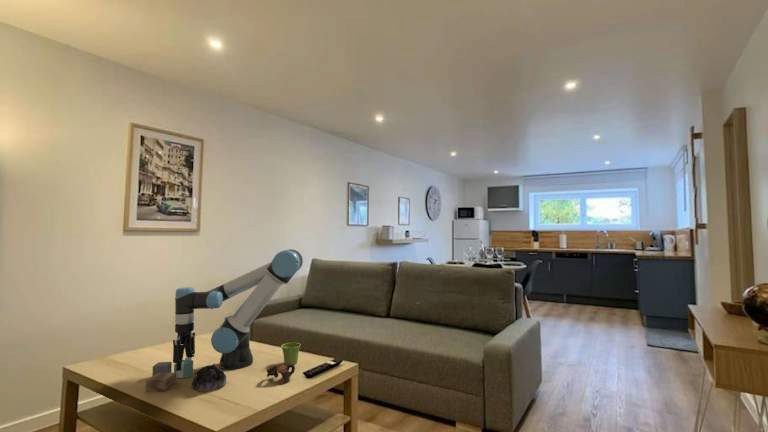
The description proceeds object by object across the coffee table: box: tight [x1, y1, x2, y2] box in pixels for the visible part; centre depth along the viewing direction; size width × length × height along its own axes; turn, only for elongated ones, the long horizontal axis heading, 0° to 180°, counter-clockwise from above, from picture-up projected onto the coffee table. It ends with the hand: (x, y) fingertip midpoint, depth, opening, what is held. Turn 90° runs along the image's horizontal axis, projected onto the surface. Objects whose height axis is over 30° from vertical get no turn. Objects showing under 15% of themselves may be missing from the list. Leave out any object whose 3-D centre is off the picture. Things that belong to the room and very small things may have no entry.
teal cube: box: [173, 359, 194, 379], centre depth 170 cm, size 6×6×6 cm
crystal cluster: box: [191, 363, 227, 393], centre depth 159 cm, size 14×14×10 cm
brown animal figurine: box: [266, 362, 296, 386], centre depth 166 cm, size 12×10×8 cm
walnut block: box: [145, 372, 177, 393], centre depth 156 cm, size 8×8×5 cm
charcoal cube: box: [151, 361, 173, 377], centre depth 168 cm, size 6×6×6 cm
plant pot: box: [280, 342, 302, 366], centre depth 187 cm, size 9×9×9 cm
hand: (184, 374), depth 170 cm, fingers open, 6 cm apart
